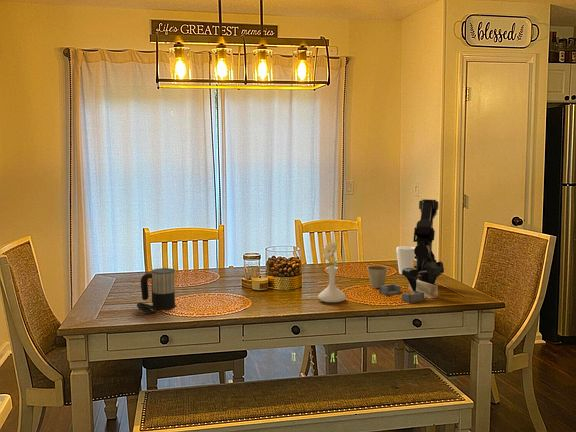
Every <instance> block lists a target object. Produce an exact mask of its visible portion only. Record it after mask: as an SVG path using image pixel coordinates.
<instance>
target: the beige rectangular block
mask: <svg viewBox="0 0 576 432" xmlns="http://www.w3.org/2000/svg"><path fill="white" fill-rule="evenodd" d="M438 288H439V286H438V285H437V284H436V285H433V284H429V283H426V282H423V281H419V279H417V281H416V291H419V292H422V293H424V298H428V299H434V298H438V296H439V295H438V294H439V291H438V290H439V289H438ZM408 292H409V293H411V294H414V292H413V290H412V287H411V285H410V283H409V282H408Z"/></svg>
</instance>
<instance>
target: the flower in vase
mask: <svg viewBox="0 0 576 432" xmlns="http://www.w3.org/2000/svg"><path fill="white" fill-rule="evenodd" d="M337 247H338V245H336V242H334V241H329V243H327V245H325V246H324V249H323V251H322V254H323V255H322V258H323V259H324V261H325V260H327V261H328V263H329V264H331V265H332V266H328V267H327V266H326V268H325V269H326V271H327V273H328V279H329V280H328V281H329V282H328V286H327V287H326V288H325V289H324V290H322V291H320V293H319V294H318V296H317V298H318V300H320V301H322V302H325V303H340V302H343V301H345V300H346V299H347V297H346V294H345V292H343V291H342V290H340V289H339V288H338V287H337V286H336V274H337V270H338V269H339V267H338V260H336V257H335V255H334V254H335V253H336V250H337ZM331 258H333V261H332V260H331Z"/></svg>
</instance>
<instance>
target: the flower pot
mask: <svg viewBox="0 0 576 432" xmlns="http://www.w3.org/2000/svg"><path fill="white" fill-rule="evenodd" d="M366 269H367V272H368V278H369V284H370V287H371V288H374V289H378V288H379V289H380V286H382V285H386V278H387V277H386V276H387V272H388V270H389V268H388V266H383V265H370V266H367V267H366Z"/></svg>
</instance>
